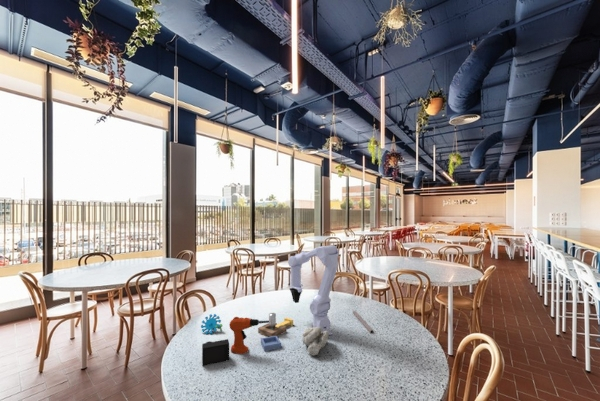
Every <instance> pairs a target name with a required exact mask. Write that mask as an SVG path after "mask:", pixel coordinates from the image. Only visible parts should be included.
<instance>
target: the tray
mask: <svg viewBox="0 0 600 401" xmlns="http://www.w3.org/2000/svg"><path fill="white" fill-rule="evenodd" d="M260 345H261V347H262V349H263V352H266V351H267V352H268V351H272V350H278V349H281V348H282V342H281V341H280V339H279V337H278V336H272V337H267V336H265V337H261V338H260Z"/></svg>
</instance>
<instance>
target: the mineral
mask: <svg viewBox="0 0 600 401" xmlns="http://www.w3.org/2000/svg"><path fill="white" fill-rule="evenodd" d="M321 330H322V329H321V328H320V327H311V328H310V327H307V328H306V329H304V331H303V333H302V343H303V345H306V346H308V347H307V352H308V353H309V355H311V356H316V355H317V356H318V355H319V352H320V350H321V349H323V348H325V346H326V344H327V342H328V339H329V336H330V335H329V332H328V331H324V332H323V331H321Z"/></svg>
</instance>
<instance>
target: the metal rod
mask: <svg viewBox="0 0 600 401" xmlns="http://www.w3.org/2000/svg"><path fill="white" fill-rule="evenodd" d="M352 314H353V315H354V317H355V318H356V319H357V320H358V321H359V322H360V323H361V324H362V326H363V327H364V328H365V329H366V330H367V331H368V332H369V334H374V332H375V331H374V330H373V328H371V327H370V325H369V324H368V323H367V322H366V320H364V319H363V317H361V315H360V314H359V313H358V312H357V311H356V310H353V311H352Z"/></svg>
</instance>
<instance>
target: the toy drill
mask: <svg viewBox="0 0 600 401" xmlns="http://www.w3.org/2000/svg"><path fill="white" fill-rule="evenodd" d="M268 323H269V320H259V319H258V318H257V319H255V318H250V317H239V316H234V317H233V319H231V320H230V322H229V329H230V330H231V331H232V332H233V336H234V340H233V344H232V345H231V348H230V352H231V353H233V354H236V355H237V354H238V355H244V354H247V353H248V352H249V347H248V346H247V345H245V342H244V340H246V339H247V335H246V333H245V331H244V330H247V329H249V328H252V327H256V326H258V325H259V324H268Z"/></svg>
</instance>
